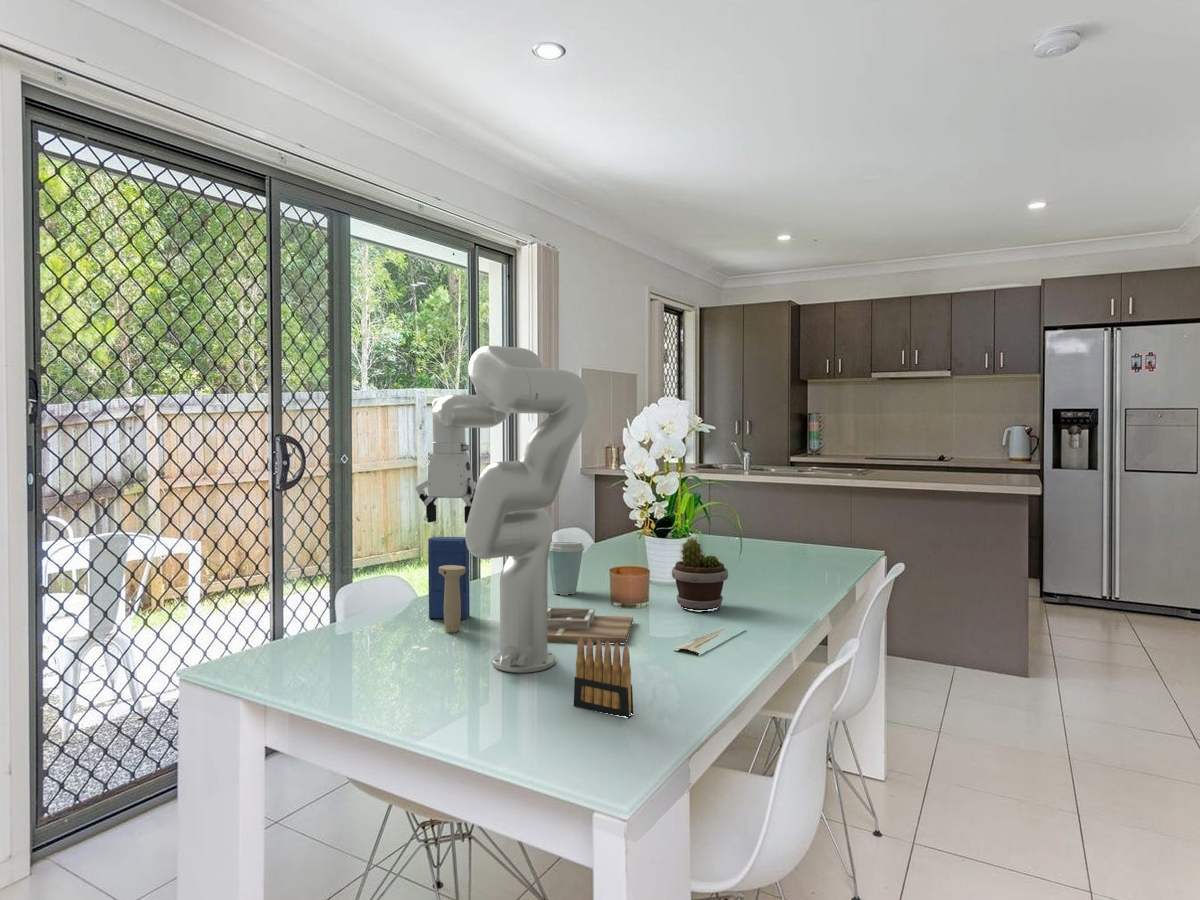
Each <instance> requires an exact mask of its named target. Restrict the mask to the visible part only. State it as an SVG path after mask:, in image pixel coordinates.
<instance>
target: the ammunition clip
mask: <svg viewBox="0 0 1200 900" xmlns="http://www.w3.org/2000/svg"><path fill="white" fill-rule="evenodd" d="M593 645H594V644H592V641H591V638H589V639H588V642H587V643H586V650H585V643H583V639H582V637H581V636H580V638H579V641H578V643H577V648H576V649H577V651H576V661H575V676H574V682H573V683H574V685H573V689H574V690H573V707H575V708H579V709H583V710H587V709H588V711H591V710H592V711H591V712H596V711H597V712H596V713H600V712H602V713H601V714H604V713H608V714H613V715H619V716H626V717H629V715H631V713H632V714H633V715H634V697H633V696H634V695H633V694H634V692H633V684H632V671H631V670H632V669H631V661H630V659H631V657H630V650H629V646H628V644H627V643H626V644H625V645H623V646H624V647H623V650H622V651H623V652H622V662H621V650H620V645H618V643H617V642H616V644H615V645H614V649H613V654H612V650H611V644H609V641H607V642H606V644H604V645H605V646H604V652H603V646H602V644H601V642H600V640H599V639H598V641H597V644H595V651H594V646H593ZM585 651H586V653H585ZM603 653H604V654H603ZM603 655H604V656H603ZM612 655H613V656H612ZM612 657H613V659H612ZM608 714H607V715H608ZM613 715H612V716H613Z"/></svg>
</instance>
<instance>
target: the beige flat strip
mask: <svg viewBox="0 0 1200 900" xmlns="http://www.w3.org/2000/svg"><path fill="white" fill-rule="evenodd" d="M731 626H732V625H731ZM729 627H730V626H729ZM725 629H726V628H725ZM725 629H721V630H720V631H719V630H718V631H716V632H713V633H710V634H706V635H705V636H702V635H701V636H702V637H700V636H699V637H700V638H698V637H697V638H698V639H696V638H695V639H696V640H694V639H693V640H694V641H692V640H691V641H692V642H690V641H689V642H690V643H688V642H686V643H687V644H686V643H684V644H685V645H684V644H682V645H683V646H682V645H680V646H681V647H680V646H678V647H679V649H681V650H687V651H691V652H693V651H694V652H693V653H695V651H696V650H698V649H700V648H701V647H702V646H703V645H705V644H706V643H708V642H709V641H710V640H711V639H713V638H715V637H717V636H718V634H720V633H721V632H722V631H724V630H725ZM678 647H676V648H677V649H678Z"/></svg>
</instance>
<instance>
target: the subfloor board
mask: <svg viewBox="0 0 1200 900" xmlns="http://www.w3.org/2000/svg"><path fill="white" fill-rule="evenodd" d="M632 622H633V623H634V616H615V615H596V614H595V608H586V607H585V608H583V607H582V608H581V607H557V606H555V607H551V606H548V643H564V642H568V643H570V644H578V641H579V638H580V636H581V637H582V639H583V643H584V644H587V642H588V639H589V638H591V641H592V643H597V641H598V639H599V640H600V642H601V643H606V642H607V641H609V643H614V644H616V642H617V643H618V644H620V643H626V644H627V642H626V640H627V641H628V639H627V637H628V638H629V636H628V634H629V635H630V633H629V631H630V632H631V630H630V628H631V629H632V627H631V625H632V626H633V624H632Z"/></svg>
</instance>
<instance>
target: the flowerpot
mask: <svg viewBox="0 0 1200 900" xmlns="http://www.w3.org/2000/svg"><path fill="white" fill-rule="evenodd" d="M690 535H691V536H690V537H687V539H685V541H683V543H680V544H681V545H680V546H681V549H680V552H681V556H680V557H679V558H680V560H679V561H677V562H676V563H675V566H674V567H672V568H671V569H672V570H671V577H672V578H673V579H674V580H675V584H676V588H677V591H678V594H677V595H676V602H677V604H678V605H680V608H681V607H683V608H687V609H693V610H708V609H713V608H717V607H720V606H721V605H722V602H723V600H724V597H723V595H722V591H723V587H724V581H727V580H728V577H729V571H728V568H726V567H725V564H724V563H723V562H721V561H719V557H718V556H717V555H715V553H710V554H709V555H706V553H703V552H704V550H703V549H702V547H703V545H702V543H701V542H700V541H699V540H697V538H698V537H696V536H693V535H692V534H690Z"/></svg>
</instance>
